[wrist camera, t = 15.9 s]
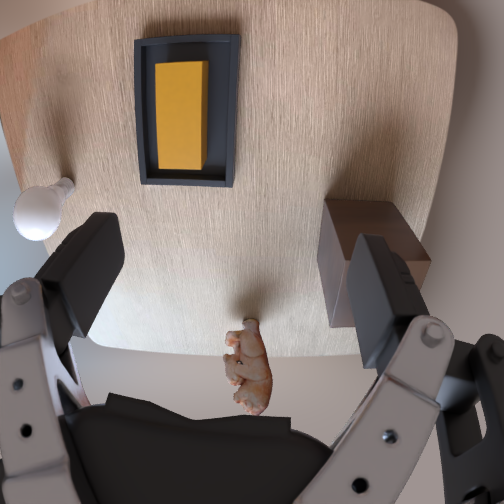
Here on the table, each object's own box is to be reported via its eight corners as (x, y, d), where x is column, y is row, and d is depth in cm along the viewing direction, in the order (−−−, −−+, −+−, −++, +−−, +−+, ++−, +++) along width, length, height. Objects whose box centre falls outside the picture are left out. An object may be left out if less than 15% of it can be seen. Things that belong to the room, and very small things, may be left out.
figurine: (229, 311, 48) (219, 396, 36) (277, 319, 49) (278, 404, 36) (224, 335, 51) (214, 414, 39) (267, 342, 52) (266, 421, 40)
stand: (324, 198, 36) (345, 260, 26) (392, 202, 36) (431, 260, 26) (316, 259, 41) (329, 328, 32) (379, 259, 41) (405, 324, 31)
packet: (166, 62, 27) (155, 63, 24) (208, 60, 27) (202, 61, 24) (168, 157, 33) (158, 168, 30) (207, 158, 33) (201, 169, 30)
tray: (241, 35, 26) (239, 34, 24) (234, 180, 35) (232, 187, 34) (141, 40, 26) (133, 39, 24) (146, 177, 35) (140, 184, 34)
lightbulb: (96, 189, 36) (52, 235, 27) (70, 212, 38) (29, 259, 29) (67, 153, 33) (16, 191, 24) (44, 180, 35) (-4, 221, 26)
